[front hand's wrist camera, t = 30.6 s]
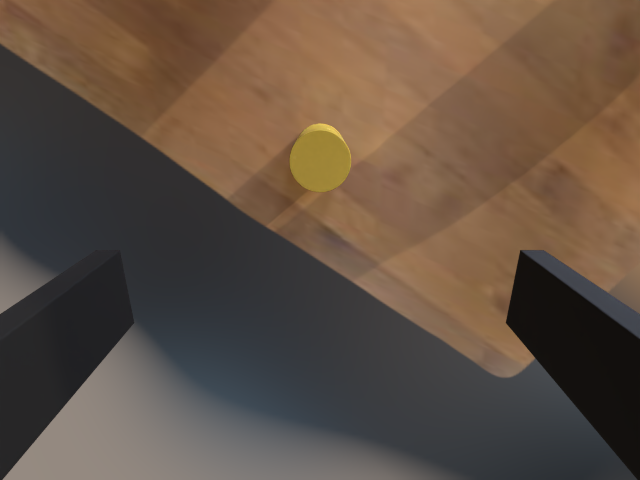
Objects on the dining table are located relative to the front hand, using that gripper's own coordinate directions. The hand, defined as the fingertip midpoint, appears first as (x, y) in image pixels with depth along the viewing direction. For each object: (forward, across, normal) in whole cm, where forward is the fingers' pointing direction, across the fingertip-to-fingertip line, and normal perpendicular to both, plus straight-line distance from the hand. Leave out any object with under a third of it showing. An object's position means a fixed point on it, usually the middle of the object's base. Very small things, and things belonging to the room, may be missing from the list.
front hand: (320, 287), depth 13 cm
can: (+39, 0, 0) cm, 39 cm away
